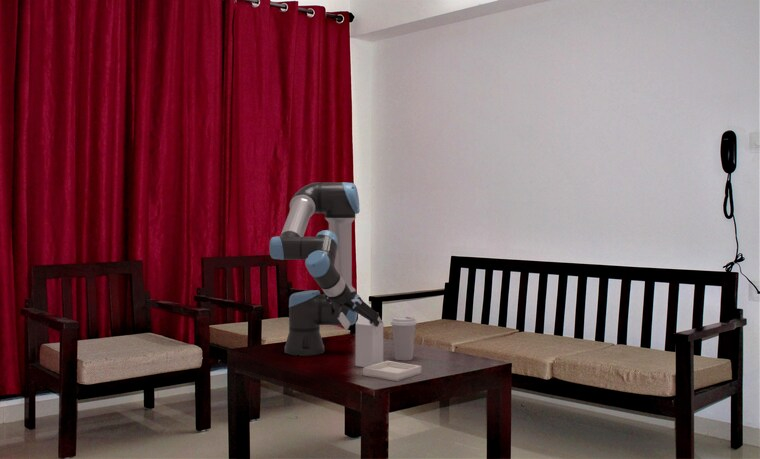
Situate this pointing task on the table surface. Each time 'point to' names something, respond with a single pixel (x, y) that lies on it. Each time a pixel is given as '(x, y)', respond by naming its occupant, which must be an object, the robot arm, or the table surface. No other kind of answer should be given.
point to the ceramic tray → (392, 370)
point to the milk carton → (368, 343)
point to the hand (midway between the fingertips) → (363, 328)
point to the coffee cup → (403, 337)
